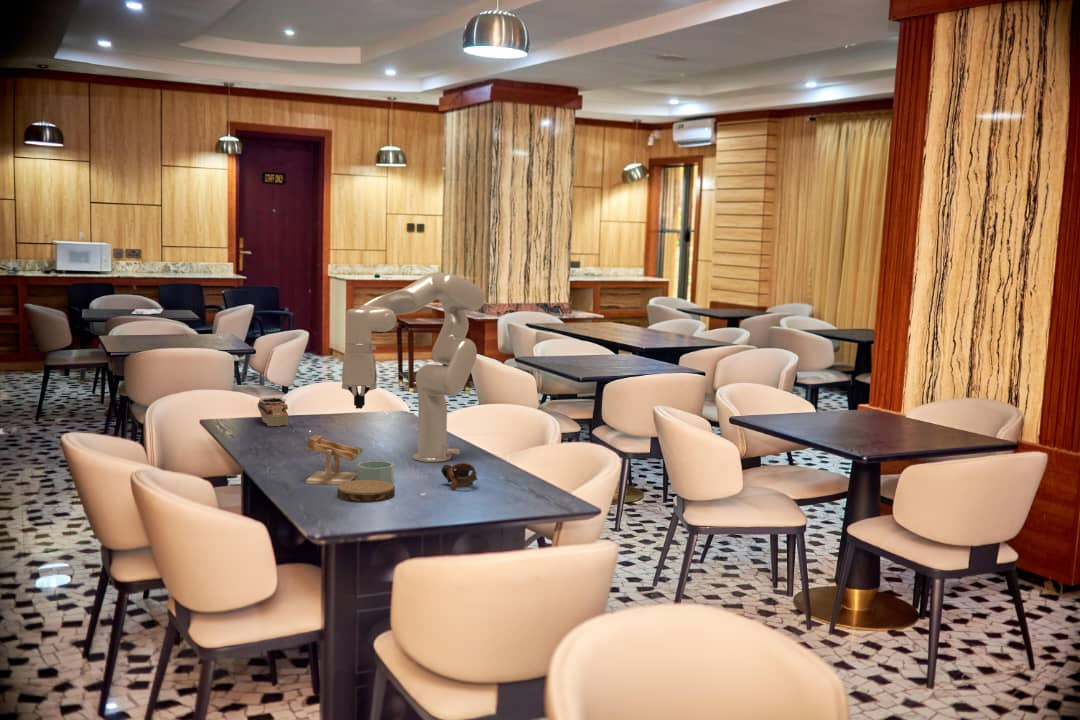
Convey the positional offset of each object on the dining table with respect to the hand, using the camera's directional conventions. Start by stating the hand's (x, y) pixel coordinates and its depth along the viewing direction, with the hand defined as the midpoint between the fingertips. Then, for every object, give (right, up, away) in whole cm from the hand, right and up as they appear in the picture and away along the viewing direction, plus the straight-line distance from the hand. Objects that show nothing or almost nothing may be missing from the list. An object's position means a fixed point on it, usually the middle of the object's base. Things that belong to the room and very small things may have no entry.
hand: (359, 407), depth 310 cm
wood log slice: (+7, -24, -26) cm, 36 cm away
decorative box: (-51, -10, +85) cm, 100 cm away
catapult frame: (-7, -21, -8) cm, 24 cm away
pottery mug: (+32, -23, -12) cm, 41 cm away
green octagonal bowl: (+6, -22, -8) cm, 24 cm away
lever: (-7, -13, -5) cm, 15 cm away
